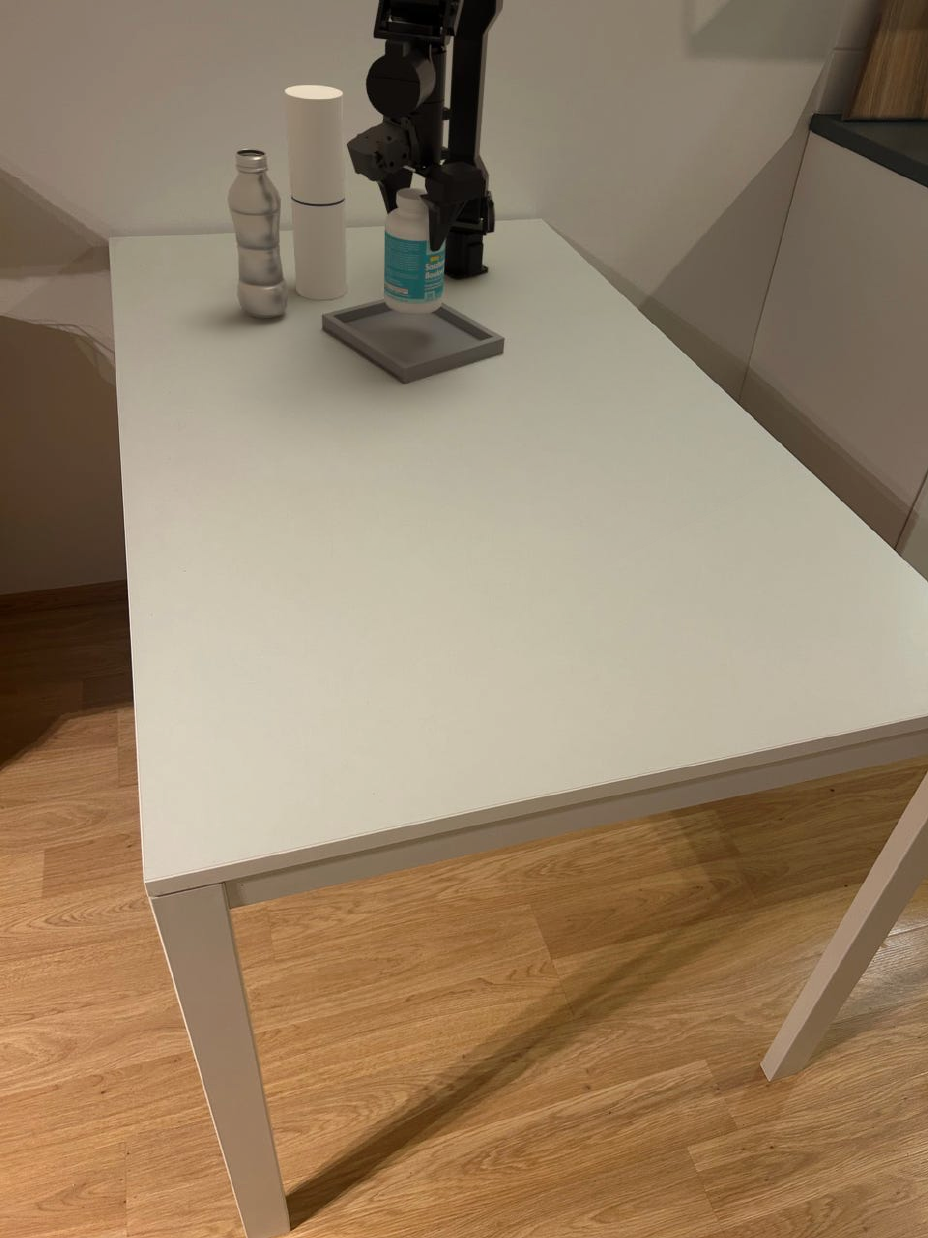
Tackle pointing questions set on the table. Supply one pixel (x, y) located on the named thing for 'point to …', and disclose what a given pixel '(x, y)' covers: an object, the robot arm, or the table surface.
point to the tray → (412, 339)
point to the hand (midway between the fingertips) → (415, 240)
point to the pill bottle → (411, 257)
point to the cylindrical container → (317, 189)
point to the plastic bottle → (257, 236)
